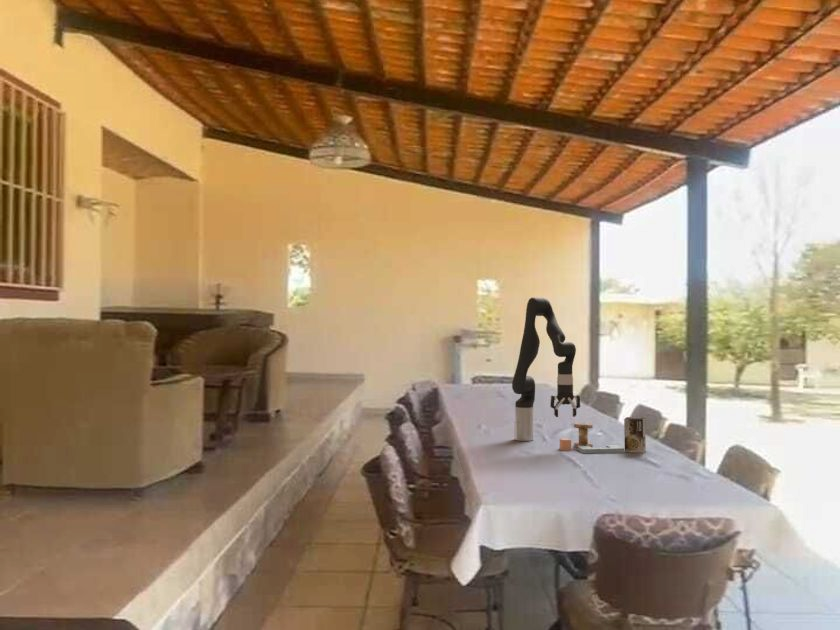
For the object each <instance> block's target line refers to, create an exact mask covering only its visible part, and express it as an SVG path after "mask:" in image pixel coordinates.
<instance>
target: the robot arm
mask: <svg viewBox="0 0 840 630" xmlns="http://www.w3.org/2000/svg"><path fill="white" fill-rule="evenodd" d="M537 317H543V318H545V320H546V326H545V331H546V334H547V336H548V337H549V340H550V341H551V343H552V349H553V354H554V355H555V356H556V357H559V358H564V360H563V361H560V362H558V364H557V378H556V379H557V381H556V383H557V384H556V385H557V386H556V387H557V390H556V391H557V393H556V395H550V404H549V405H550V407H549V408H551V409H554V410H553V411H554V412H553V414H554V417H555V418H559V407H560V406H561V405H570V406H571V407H572V417H574V418H575V417H576V416H577V410H578V409H580V408H581V397H580V396H581V395H578V394H576V395H574V377H573V364H574V360H575V356H576V353H577V348H576V347H577V346H576V345H575V343H573V342H571V341H570V342H567V341H566V335H565V333H564V332H563V330H562V328H561V327H560V325H559V323H558V320H557V318H556V315H555V313H554V310H553V307H552V304H551V302H550V300H549V299H548V298H544V297H530V298H529V299H528V301H527V303H526V308H525V321H524V327H523V334H522V339H521V344H520V349H519V355H518V361H517V364H516V368H515V371H514V373H513V374H514V375H513V377H512V378H513V379H512V382H511V388H512V390H513V393H515V394H516V395H521V396H520V397H519V398H518V399H517V400H516V401H515V403H514V404H515V406H514V407H515V418H514V419H515V420H514V440H516V441H522V442H530V441H533V440H534V403H535V401H536V400H535V399H536V398H535V397H536V381H535V379H534V377H532V376H531V375H527V374H528V371H529V369H530V367H531V365H532V364H533V362H534V361H535V359H536V357H537V356H538V353H539V349H540V344H541V342H540V341H541V340H540V336H539V334H538V331H537V329H536V319H537ZM565 341H566V342H565ZM556 399H557V402H556V404H555V401H556ZM574 399H575V403H576V404H575V403H574V401H573V400H574Z"/></svg>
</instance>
